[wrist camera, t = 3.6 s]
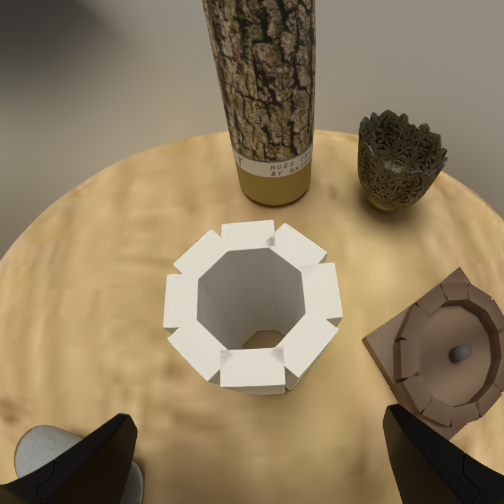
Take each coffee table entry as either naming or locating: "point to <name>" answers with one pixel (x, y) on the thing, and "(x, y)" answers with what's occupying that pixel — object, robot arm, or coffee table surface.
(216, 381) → the tube
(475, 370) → the holder
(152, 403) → the coffee table surface
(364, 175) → the cup
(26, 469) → the ceramic mug
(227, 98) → the paper tube
